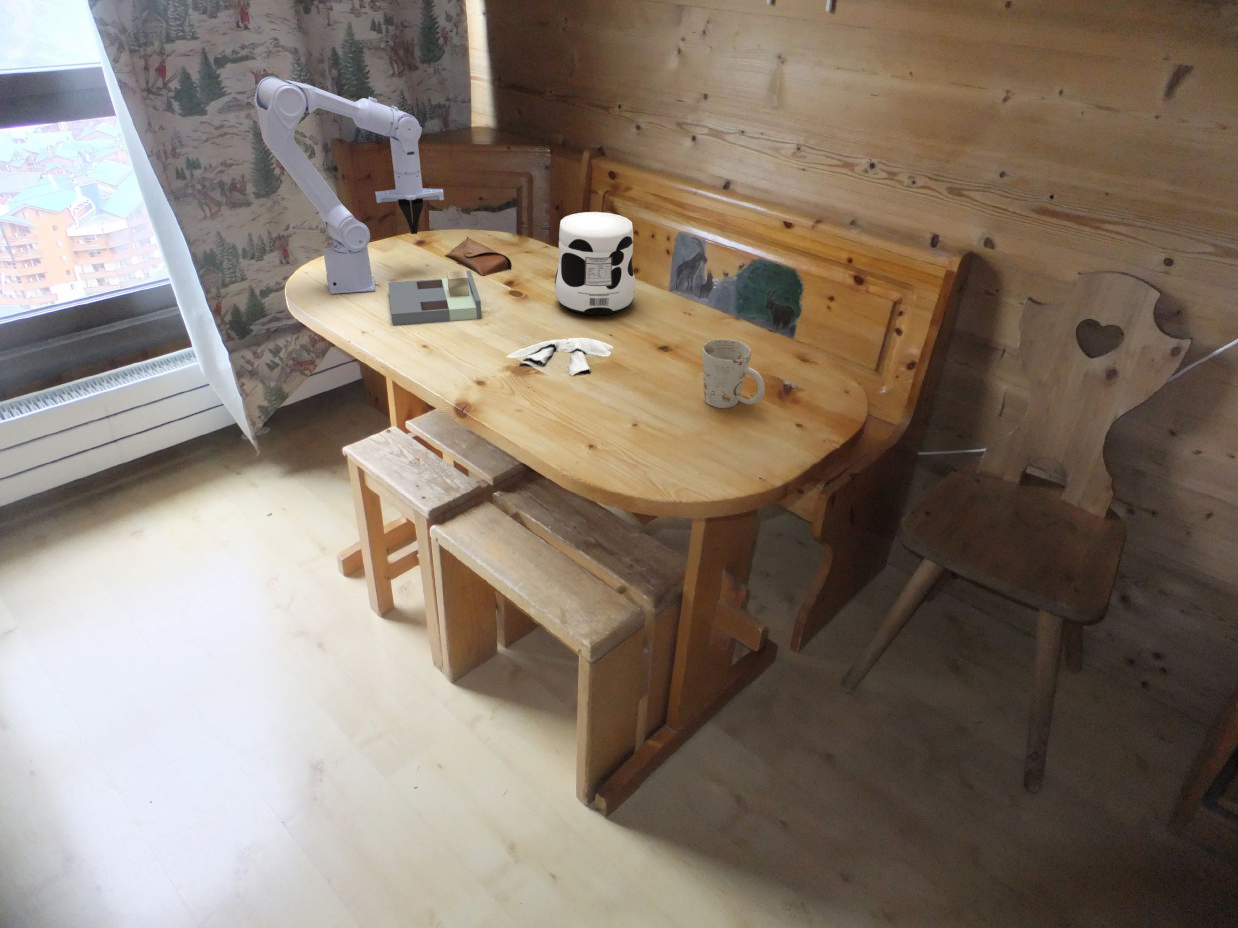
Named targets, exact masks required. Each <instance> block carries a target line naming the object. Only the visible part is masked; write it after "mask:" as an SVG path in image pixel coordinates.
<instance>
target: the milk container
mask: <svg viewBox="0 0 1238 928" xmlns="http://www.w3.org/2000/svg"><path fill="white" fill-rule="evenodd" d="M559 223H560V224H559V232H558V238H559V240H558V266H557V269H556V274H555V277H554V278H555V279H554V289H555V294H556V298H557V300H558V301H559V303H560V304H561V305H562V306H564V308H567V309H569V310H570V311H572V312H575V313H580V314H584V315H608V314H613V313H617V312H620V311H622V310H623V309H626V308H627V307H629V306H630V304H631V303H632V301H633V299H634V295H635V292H636V277H635V273H634V269H633V254H634V253H633V252H634V244H633V243H634V228H633V222H632V221H631V220H630V219H628V217H625V216H622V215H620V214H615V213H610V212H602V211H600V212H599V211H591V212H590V211H585V212H584V211H583V212H578V213H573V214H568V215H566V216H564V217H563V218H562V219H561V220H560V222H559Z"/></svg>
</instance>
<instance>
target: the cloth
mask: <svg viewBox="0 0 1238 928" xmlns="http://www.w3.org/2000/svg"><path fill="white" fill-rule="evenodd" d="M564 349H566V350H564ZM613 349H614V346H613V345H611V344H609V343H607V342H604V341H602V340H598V339H592V338H588V337H574V338H573V337H568V338H567V339H566V338H565V339H563V338H562V339H550V340H546V341H541V342H539V343H537V344H532V345H529V346H527V347H524V348H523V347H522V348H521V349H518V350H515V351H513V352H512V353H510V354H507V355H506V356H505V357H506V358H507V359H508V358H509V359H514V358H515V359H517V358H519V357H520V358H521V357H524V358H523V359H522V362H520V363H519V364H518V365H517V367H518V368H519V367H521V366H523V365H524V364H526V365H528V366H531V367H534V368H535V367H537V368H542V367H543V366H544V365H545V364H546V363H548V361H549V358H550V357H551V356H552V355H554V351H555V352H562V353H572V354H571V355H570V358H569V365H568V366H567V370H568V375H570V376H572V377H573V376H574V375H576V374H579V375H581V374H587V373H588V374H591V373H592V371H591V368H590V365H589V363H588V360H587V358H586V356H585V354H586V355H589V356H597V357H609V356H611V353H612V352H611V351H610V350H613ZM561 350H562V351H561ZM563 350H564V351H563ZM584 353H585V354H584ZM527 359H530V360H528V361H526V360H527ZM540 363H542V364H540Z"/></svg>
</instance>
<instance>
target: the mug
mask: <svg viewBox="0 0 1238 928" xmlns="http://www.w3.org/2000/svg"><path fill="white" fill-rule="evenodd" d="M751 358H752V349H751V347H750V346H748V345H747V344H746V343H744V342H742V341H739V340H737V339H732V338H717V339H711V340H709V341H707V342H705V343H704V344H703V346H702V377H703V380H702V381H703V399H704V402H705V403H706V404H707V405H709V406H711V407H714V408H718V409H729V408H733V407H735V406H736V405H737V404H738V402H741V403H743V404H746V405H751V404H752V405H753V404H755V403H757V402H759V401H761V400H762V398H763V397H764V395H765V392H766V391H765V390H766V389H765V388H766V385H765V382H764V380H763V376H761V374H760V372H758V371H757V370H755V369H754V368H752V367H749V365H750V361H751ZM746 375H748V376H751V377H752V378H753V379H754V381H755V382H756V385H757V392H756V393H755V395H753V397H751V398H746V397H743V396H741V392H742V389H743V385H744V382H745V378H746Z"/></svg>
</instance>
